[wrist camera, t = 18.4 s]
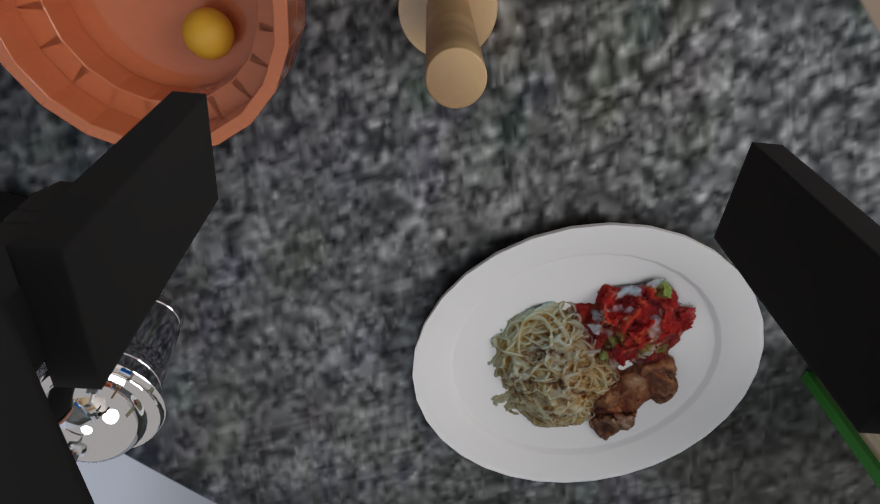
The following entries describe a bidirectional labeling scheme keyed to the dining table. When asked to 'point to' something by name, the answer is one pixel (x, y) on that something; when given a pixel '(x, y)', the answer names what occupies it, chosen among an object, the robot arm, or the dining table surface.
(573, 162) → the dining table surface
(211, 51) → the bead
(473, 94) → the masher
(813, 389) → the hardback book
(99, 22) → the bowl
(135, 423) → the cup with straw
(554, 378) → the plated food
